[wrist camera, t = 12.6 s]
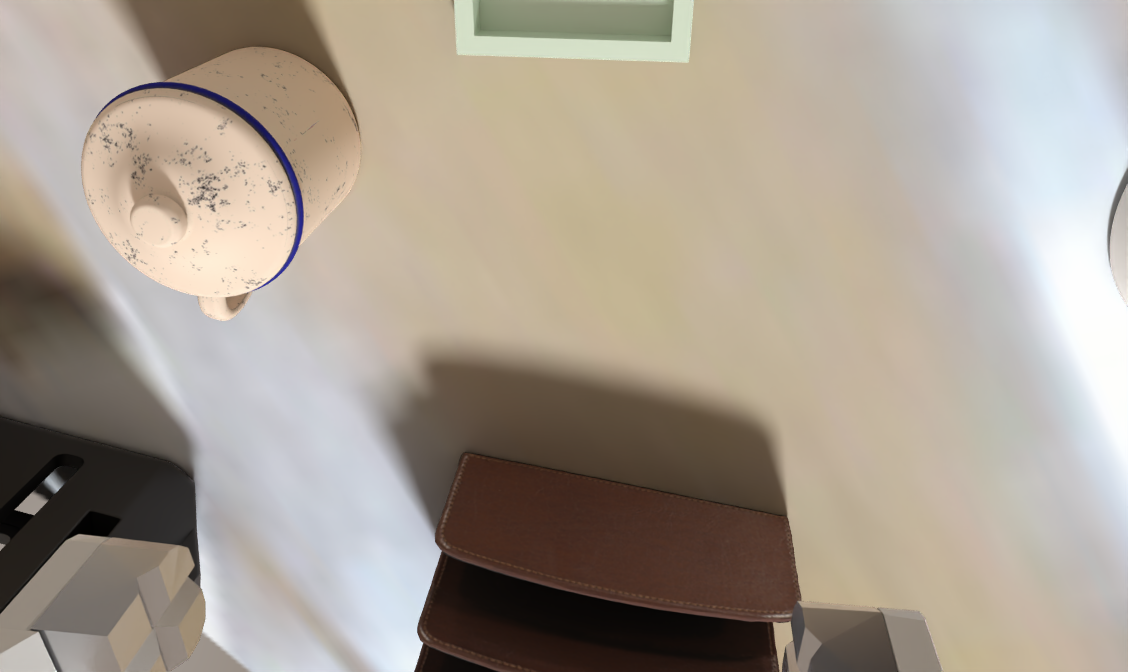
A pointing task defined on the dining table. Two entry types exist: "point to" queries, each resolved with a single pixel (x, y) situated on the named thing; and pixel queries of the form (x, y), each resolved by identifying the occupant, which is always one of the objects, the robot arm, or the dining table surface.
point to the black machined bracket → (85, 500)
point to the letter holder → (600, 577)
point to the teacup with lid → (221, 172)
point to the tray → (576, 29)
